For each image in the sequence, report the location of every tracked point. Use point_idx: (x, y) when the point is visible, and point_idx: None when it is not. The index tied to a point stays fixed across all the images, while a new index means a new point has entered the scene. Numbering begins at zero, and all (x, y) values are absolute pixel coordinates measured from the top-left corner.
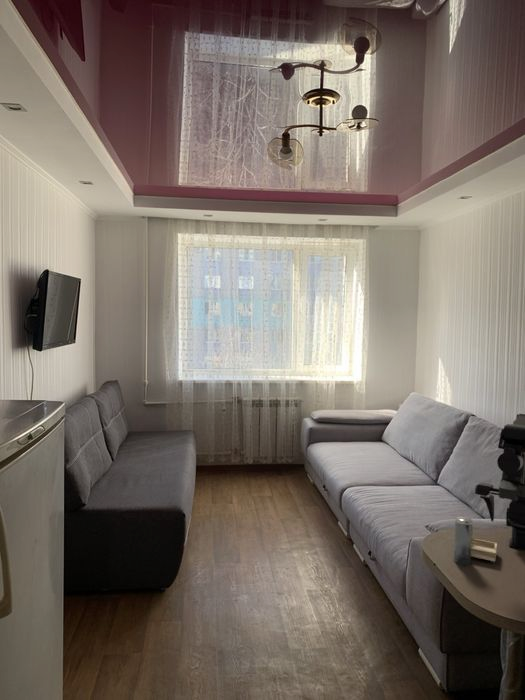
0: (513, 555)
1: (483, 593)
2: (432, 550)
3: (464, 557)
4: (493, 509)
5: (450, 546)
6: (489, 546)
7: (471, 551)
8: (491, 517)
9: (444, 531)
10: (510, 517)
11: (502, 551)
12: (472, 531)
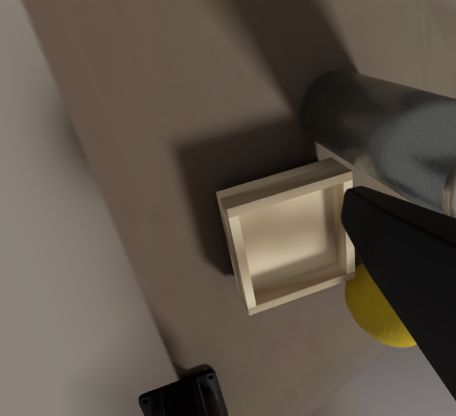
0: (178, 320)
1: None
2: None
3: (341, 83)
4: (432, 321)
5: None
6: (270, 286)
7: (324, 171)
8: (389, 203)
9: None
10: None
11: (222, 319)
12: (359, 319)
